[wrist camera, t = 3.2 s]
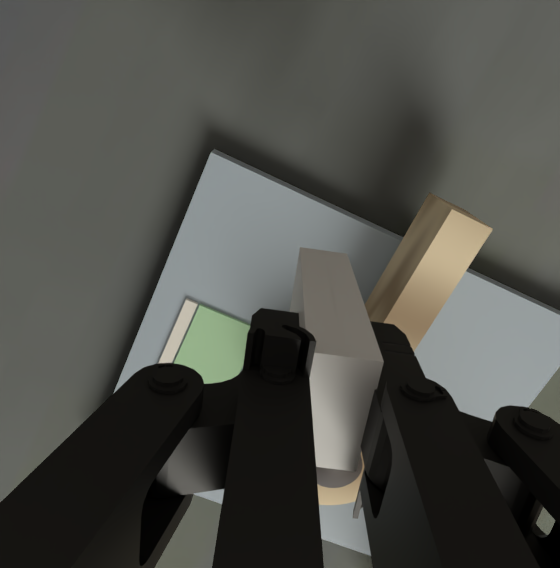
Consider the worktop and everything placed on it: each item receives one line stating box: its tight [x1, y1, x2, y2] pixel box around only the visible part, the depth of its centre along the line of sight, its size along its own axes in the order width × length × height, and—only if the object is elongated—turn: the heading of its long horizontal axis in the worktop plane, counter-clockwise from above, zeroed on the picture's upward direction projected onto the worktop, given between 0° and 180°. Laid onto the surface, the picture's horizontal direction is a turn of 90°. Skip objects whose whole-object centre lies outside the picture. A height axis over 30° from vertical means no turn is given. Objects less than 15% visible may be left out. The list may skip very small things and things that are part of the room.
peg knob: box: [316, 193, 493, 505], centre depth 23 cm, size 19×6×5 cm, turn 155°
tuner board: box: [113, 149, 560, 556], centre depth 26 cm, size 20×18×1 cm
